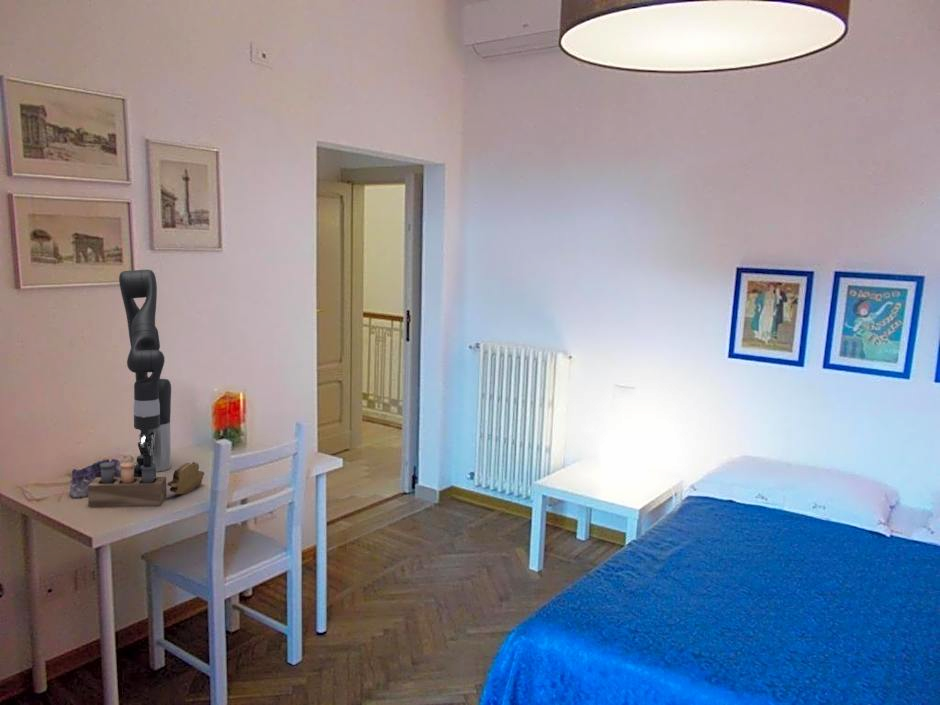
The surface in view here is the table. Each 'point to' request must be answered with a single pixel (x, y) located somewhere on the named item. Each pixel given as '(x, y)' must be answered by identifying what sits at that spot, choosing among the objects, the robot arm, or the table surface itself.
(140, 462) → the supplement bottle
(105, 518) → the table surface
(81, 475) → the geode
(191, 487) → the wooden carving
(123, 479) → the terracotta plug
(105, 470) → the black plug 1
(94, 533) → the table surface
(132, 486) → the walnut socket block
